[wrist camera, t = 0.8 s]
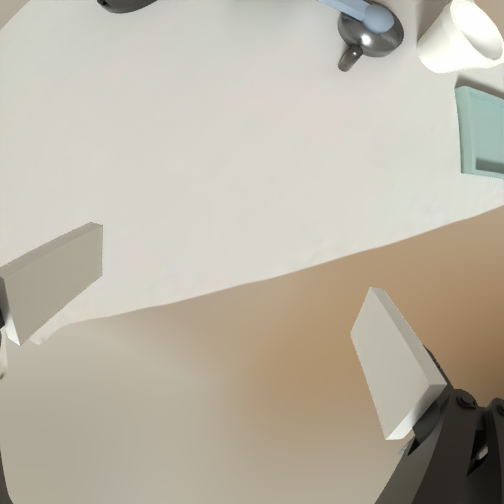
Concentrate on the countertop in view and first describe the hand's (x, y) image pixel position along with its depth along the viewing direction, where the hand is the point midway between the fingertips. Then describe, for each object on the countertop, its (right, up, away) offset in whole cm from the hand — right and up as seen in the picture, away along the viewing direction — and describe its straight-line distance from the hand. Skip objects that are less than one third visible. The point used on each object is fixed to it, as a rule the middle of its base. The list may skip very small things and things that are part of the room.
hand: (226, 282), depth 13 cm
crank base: (+17, +31, +15) cm, 39 cm away
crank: (+13, +34, +12) cm, 38 cm away
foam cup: (+29, +31, +15) cm, 45 cm away
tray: (+39, +20, +17) cm, 48 cm away
